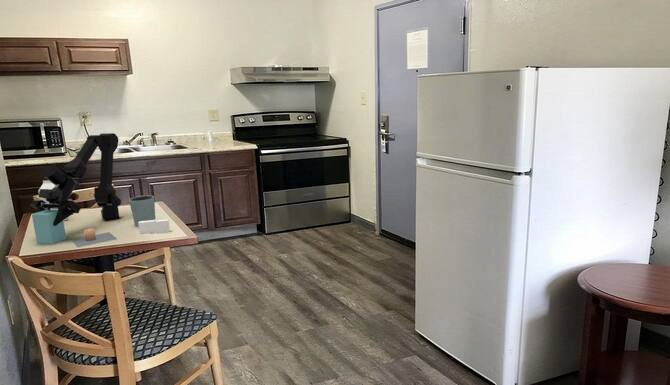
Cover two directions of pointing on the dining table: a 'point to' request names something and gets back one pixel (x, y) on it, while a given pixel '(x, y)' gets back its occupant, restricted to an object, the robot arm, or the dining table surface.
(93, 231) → the peach capsule
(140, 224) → the napkin holder
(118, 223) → the dining table surface
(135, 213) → the teal tapered cup
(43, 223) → the teal rectangular block
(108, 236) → the slate mat
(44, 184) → the milk carton
